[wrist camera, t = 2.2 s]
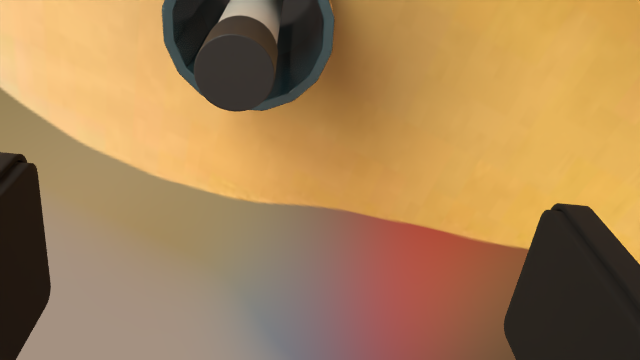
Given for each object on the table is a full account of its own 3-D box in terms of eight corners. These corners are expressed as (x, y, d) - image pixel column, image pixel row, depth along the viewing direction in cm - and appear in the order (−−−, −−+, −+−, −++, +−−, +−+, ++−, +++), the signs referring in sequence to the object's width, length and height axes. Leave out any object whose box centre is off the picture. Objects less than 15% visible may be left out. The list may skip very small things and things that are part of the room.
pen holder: (332, -72, 33) (340, -55, 26) (322, 66, 37) (327, 114, 29) (188, -82, 32) (157, -68, 25) (194, 59, 36) (167, 106, 29)
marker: (285, -27, 33) (275, 36, 21) (284, 25, 35) (273, 114, 22) (233, -30, 33) (192, 31, 21) (233, 23, 35) (195, 109, 22)
